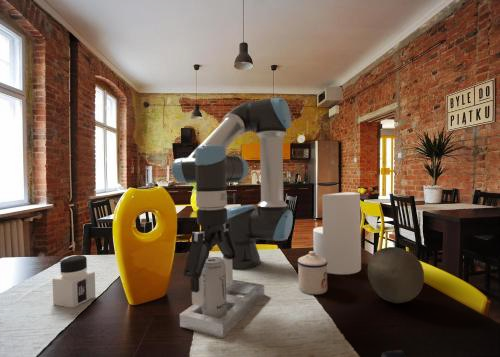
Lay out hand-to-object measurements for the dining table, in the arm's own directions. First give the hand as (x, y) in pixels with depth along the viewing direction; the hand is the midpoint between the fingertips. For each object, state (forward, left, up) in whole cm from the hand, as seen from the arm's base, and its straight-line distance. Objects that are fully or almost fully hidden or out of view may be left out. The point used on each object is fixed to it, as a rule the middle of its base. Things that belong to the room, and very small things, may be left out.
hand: (214, 292), depth 70 cm
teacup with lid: (-29, +18, -7) cm, 35 cm away
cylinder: (-52, +22, -7) cm, 57 cm away
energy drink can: (0, 0, -7) cm, 7 cm away
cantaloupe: (-27, +41, -7) cm, 50 cm away
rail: (-6, 0, -7) cm, 9 cm away
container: (+7, -44, -7) cm, 45 cm away
